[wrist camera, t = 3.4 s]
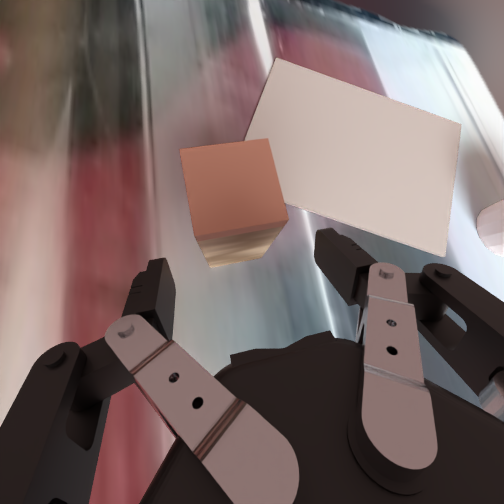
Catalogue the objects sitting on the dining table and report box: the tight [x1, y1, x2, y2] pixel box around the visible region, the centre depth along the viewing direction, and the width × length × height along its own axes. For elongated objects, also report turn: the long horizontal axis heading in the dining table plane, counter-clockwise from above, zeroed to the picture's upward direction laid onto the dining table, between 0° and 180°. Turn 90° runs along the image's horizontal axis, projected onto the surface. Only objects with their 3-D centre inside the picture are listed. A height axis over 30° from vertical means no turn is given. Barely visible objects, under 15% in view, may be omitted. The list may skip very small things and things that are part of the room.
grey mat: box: [244, 58, 461, 257], centre depth 24 cm, size 22×16×1 cm
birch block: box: [179, 138, 289, 268], centre depth 17 cm, size 5×5×10 cm
